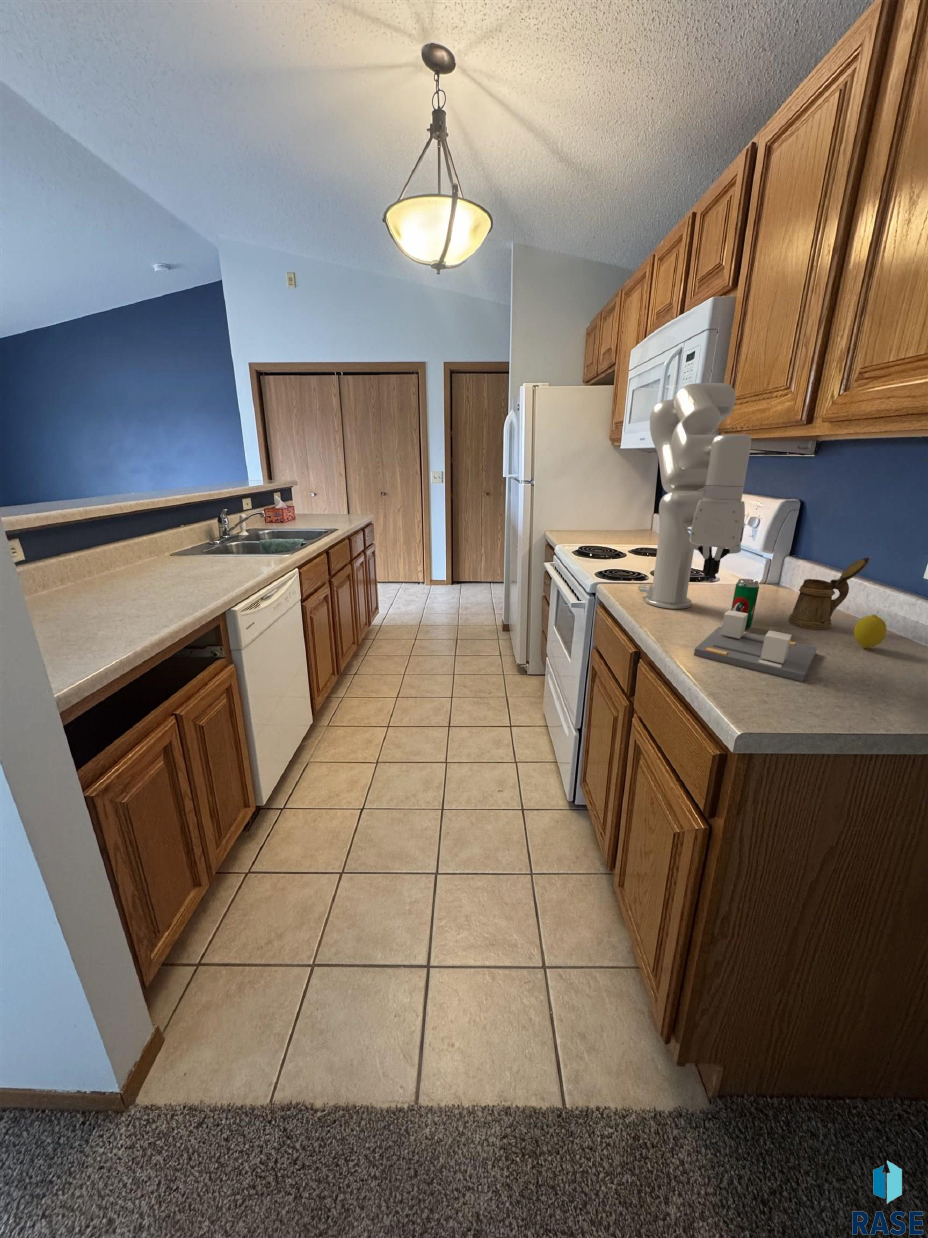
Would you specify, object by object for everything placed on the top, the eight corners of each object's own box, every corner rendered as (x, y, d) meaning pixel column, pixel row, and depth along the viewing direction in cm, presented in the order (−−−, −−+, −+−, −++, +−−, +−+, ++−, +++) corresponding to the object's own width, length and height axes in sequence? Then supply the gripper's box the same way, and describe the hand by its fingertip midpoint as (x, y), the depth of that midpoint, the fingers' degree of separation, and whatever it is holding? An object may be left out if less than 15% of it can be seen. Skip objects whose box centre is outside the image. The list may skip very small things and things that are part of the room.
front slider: (760, 658, 101) (765, 635, 99) (764, 652, 104) (769, 630, 102) (782, 663, 99) (788, 640, 97) (786, 657, 101) (791, 634, 100)
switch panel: (693, 654, 107) (695, 647, 107) (717, 632, 121) (718, 625, 120) (802, 681, 95) (804, 673, 94) (815, 653, 108) (817, 646, 108)
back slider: (720, 634, 114) (724, 614, 112) (725, 630, 117) (728, 610, 115) (739, 638, 112) (743, 617, 110) (743, 634, 114) (747, 613, 113)
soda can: (753, 631, 122) (763, 583, 118) (731, 629, 123) (740, 582, 119) (747, 624, 126) (756, 578, 122) (725, 623, 127) (734, 577, 123)
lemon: (852, 641, 115) (861, 609, 112) (882, 648, 111) (892, 614, 109) (847, 648, 111) (856, 614, 109) (878, 655, 108) (889, 620, 105)
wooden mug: (856, 634, 120) (877, 561, 114) (792, 627, 124) (808, 556, 119) (844, 623, 128) (863, 554, 122) (784, 616, 132) (799, 550, 126)
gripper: (682, 493, 110) (671, 574, 116) (757, 496, 101) (741, 584, 107) (692, 492, 116) (681, 569, 121) (765, 495, 106) (749, 578, 112)
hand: (709, 575), depth 114 cm, fingers closed
